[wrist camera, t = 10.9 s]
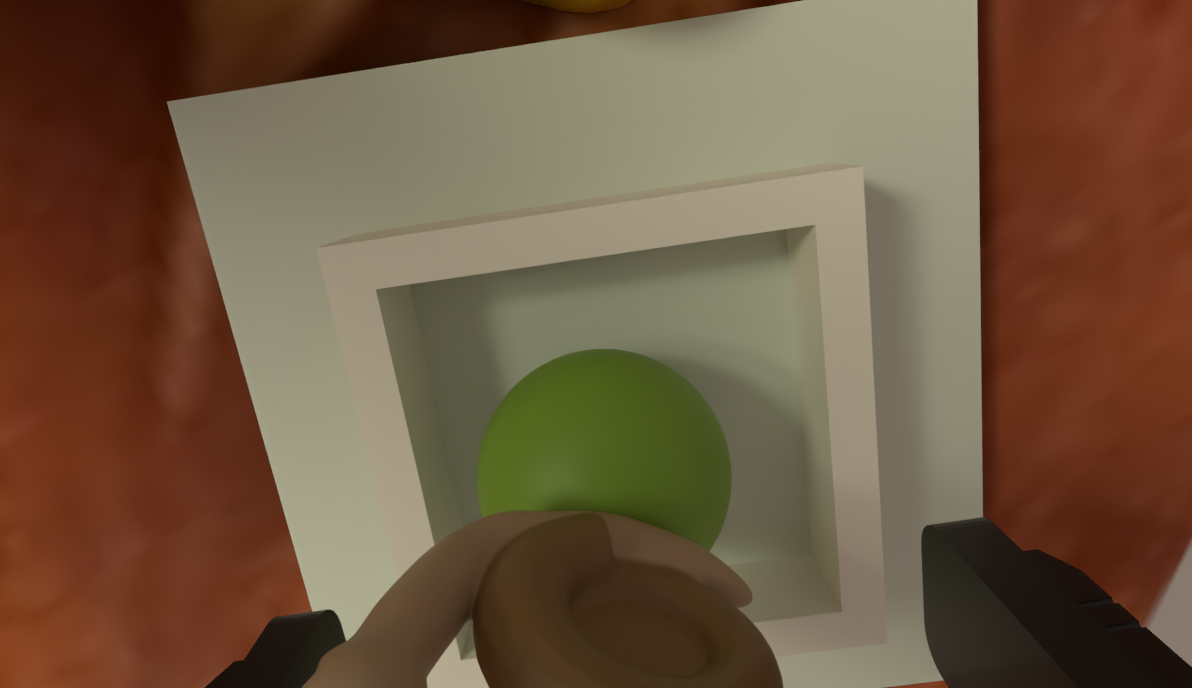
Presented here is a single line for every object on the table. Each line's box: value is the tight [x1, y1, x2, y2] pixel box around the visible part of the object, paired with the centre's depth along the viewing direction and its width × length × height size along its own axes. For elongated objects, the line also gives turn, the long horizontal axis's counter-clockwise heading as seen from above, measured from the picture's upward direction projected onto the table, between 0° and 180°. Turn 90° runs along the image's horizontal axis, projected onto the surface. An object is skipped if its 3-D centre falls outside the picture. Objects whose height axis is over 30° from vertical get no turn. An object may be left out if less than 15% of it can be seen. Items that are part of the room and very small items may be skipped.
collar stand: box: [167, 0, 983, 688], centre depth 18 cm, size 18×18×4 cm
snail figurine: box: [302, 349, 783, 688], centre depth 13 cm, size 5×6×12 cm
